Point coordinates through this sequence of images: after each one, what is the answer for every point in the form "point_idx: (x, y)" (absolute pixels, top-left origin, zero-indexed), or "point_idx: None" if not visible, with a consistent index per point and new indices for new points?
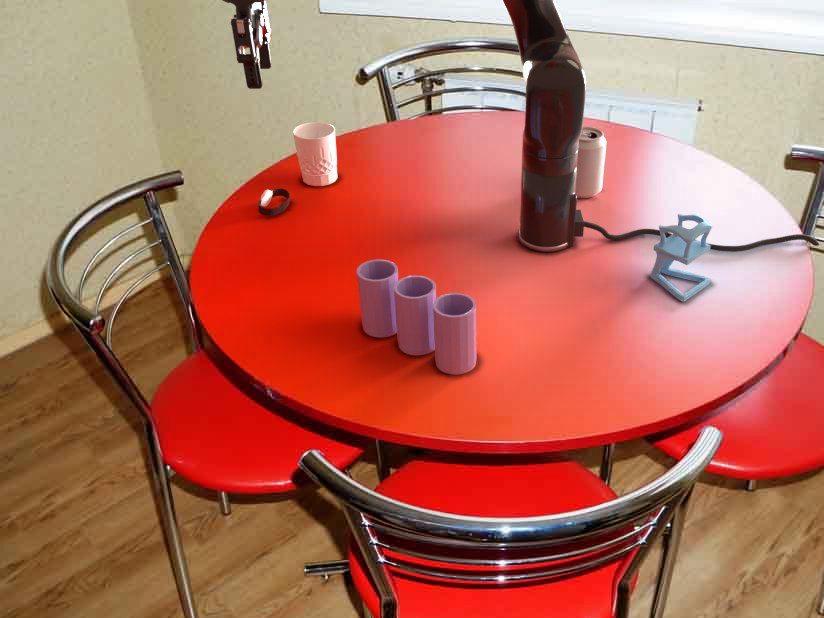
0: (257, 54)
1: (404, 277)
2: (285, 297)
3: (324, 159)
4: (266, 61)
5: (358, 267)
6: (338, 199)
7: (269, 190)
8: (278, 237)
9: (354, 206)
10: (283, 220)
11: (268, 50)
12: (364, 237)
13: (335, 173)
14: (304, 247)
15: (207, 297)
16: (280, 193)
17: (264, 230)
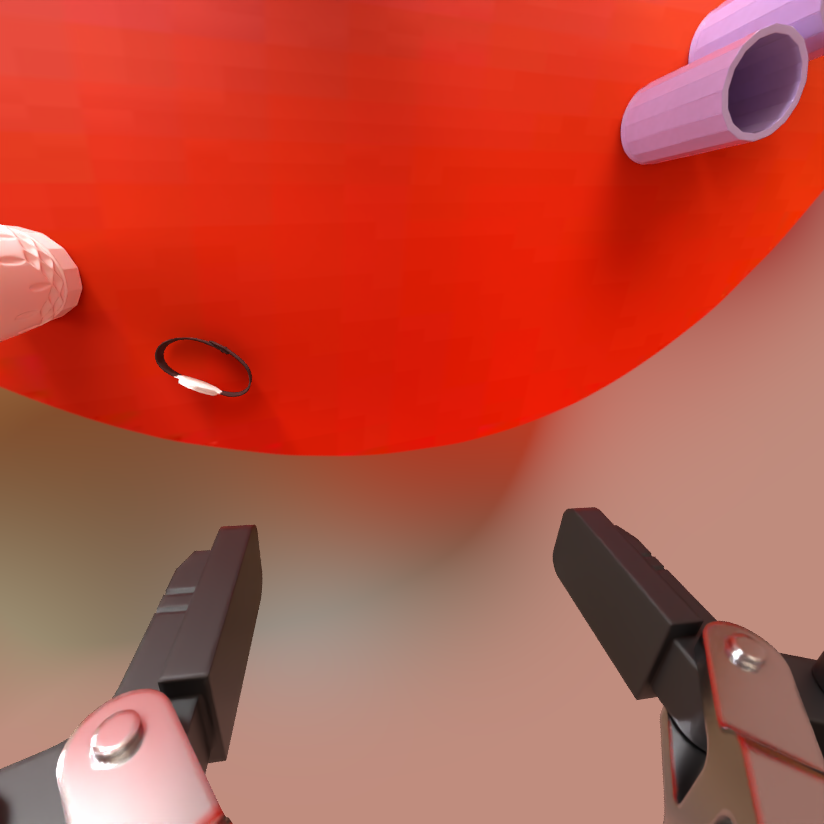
0: (776, 689)
1: (821, 7)
2: (527, 308)
3: (22, 255)
4: (245, 572)
5: (737, 135)
6: (144, 221)
7: (188, 382)
8: (330, 342)
9: (178, 177)
10: (261, 340)
11: (225, 623)
12: (333, 152)
13: (19, 229)
14: (369, 288)
15: (503, 422)
16: (162, 359)
17: (303, 371)
